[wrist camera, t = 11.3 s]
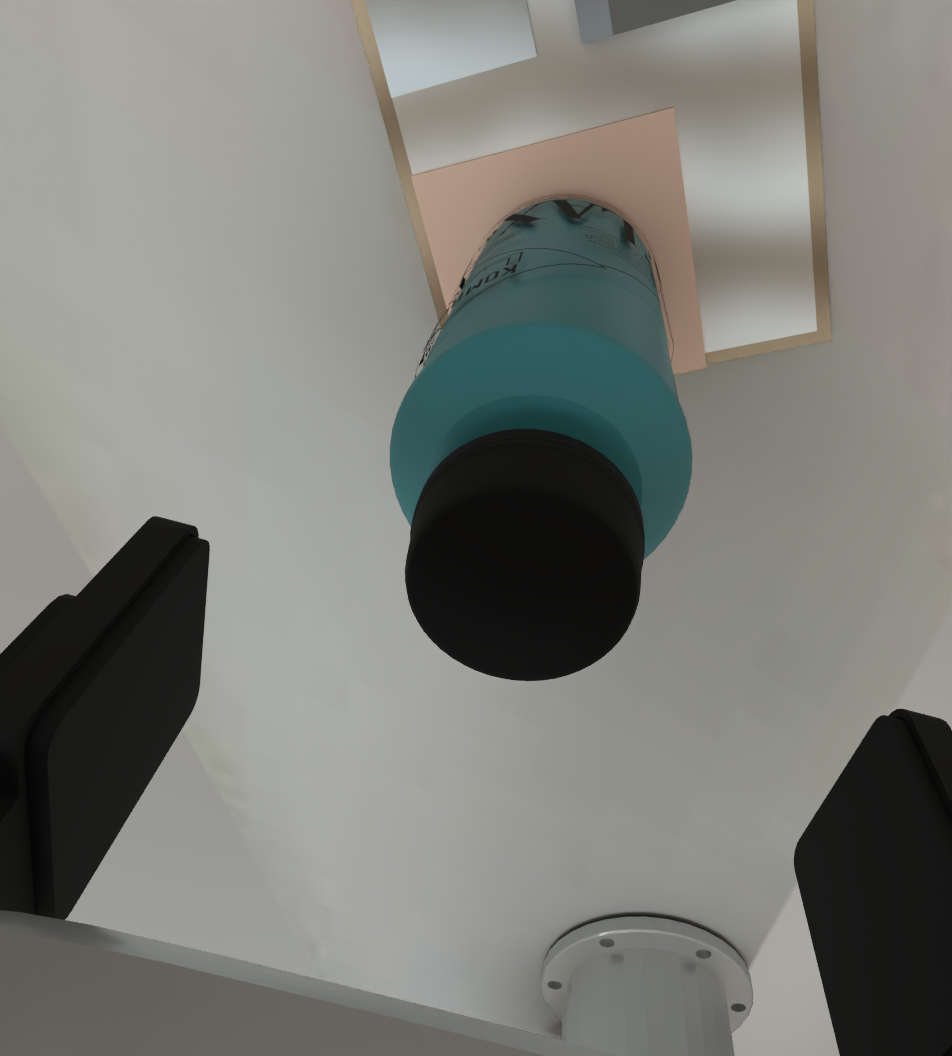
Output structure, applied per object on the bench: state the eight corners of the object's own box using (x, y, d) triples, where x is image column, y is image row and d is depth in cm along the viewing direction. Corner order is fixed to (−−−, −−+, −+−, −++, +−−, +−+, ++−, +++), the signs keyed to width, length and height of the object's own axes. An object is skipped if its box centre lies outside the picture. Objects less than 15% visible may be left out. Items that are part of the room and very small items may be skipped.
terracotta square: (703, 359, 32) (706, 368, 32) (477, 403, 34) (474, 413, 34) (671, 104, 28) (673, 107, 27) (416, 172, 30) (410, 176, 29)
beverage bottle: (691, 240, 29) (830, 531, 12) (593, 397, 33) (594, 800, 16) (526, 146, 28) (425, 317, 11) (442, 317, 32) (266, 651, 15)
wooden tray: (827, 335, 31) (857, 373, 28) (466, 406, 35) (451, 448, 31) (787, -397, 22) (824, -478, 19) (297, -209, 25) (249, -248, 22)
